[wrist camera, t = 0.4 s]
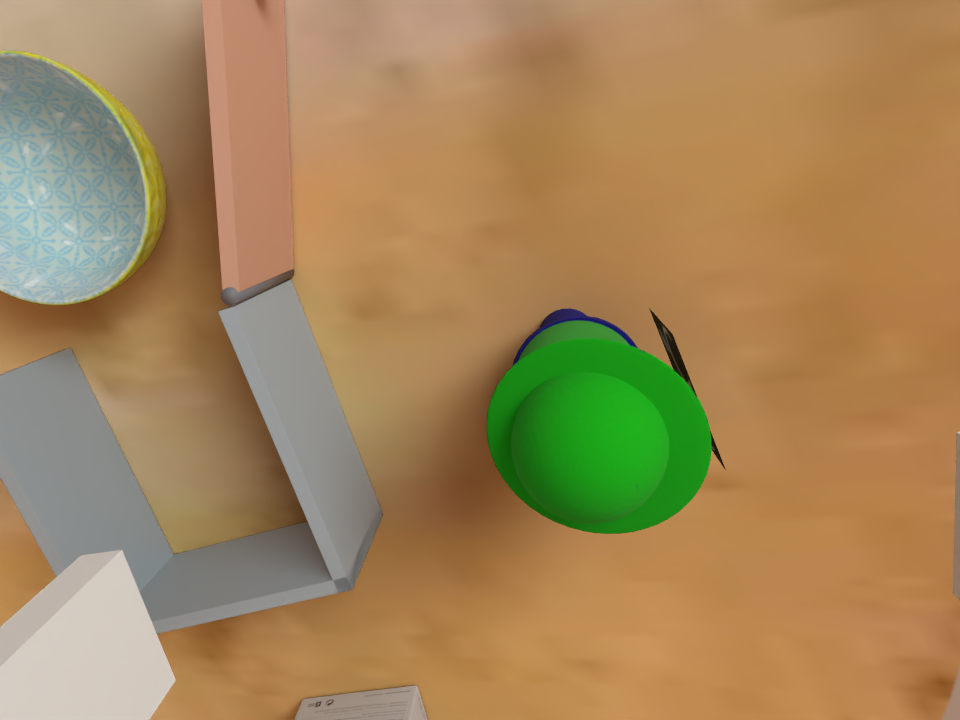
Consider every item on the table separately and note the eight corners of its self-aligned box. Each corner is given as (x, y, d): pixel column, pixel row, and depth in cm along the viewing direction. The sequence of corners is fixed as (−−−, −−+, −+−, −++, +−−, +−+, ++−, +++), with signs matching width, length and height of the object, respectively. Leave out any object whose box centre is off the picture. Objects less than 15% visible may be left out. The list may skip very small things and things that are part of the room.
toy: (670, 396, 37) (764, 543, 22) (533, 450, 38) (539, 618, 24) (614, 257, 35) (677, 320, 20) (472, 319, 36) (437, 419, 22)
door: (302, -31, 31) (238, -88, 24) (311, 279, 36) (259, 307, 29) (267, -32, 32) (192, -90, 24) (280, 277, 36) (221, 304, 29)
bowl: (223, 103, 34) (160, 89, 28) (197, 306, 37) (135, 332, 31) (17, 45, 34) (-92, 19, 28) (9, 254, 37) (-88, 271, 31)
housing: (59, 351, 38) (-48, 393, 31) (291, 279, 36) (233, 306, 29) (168, 566, 43) (96, 647, 35) (382, 514, 40) (352, 589, 33)
